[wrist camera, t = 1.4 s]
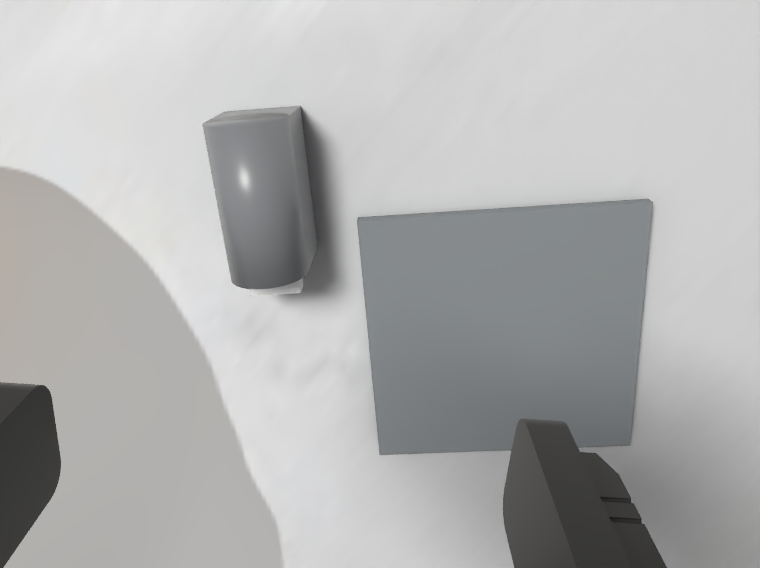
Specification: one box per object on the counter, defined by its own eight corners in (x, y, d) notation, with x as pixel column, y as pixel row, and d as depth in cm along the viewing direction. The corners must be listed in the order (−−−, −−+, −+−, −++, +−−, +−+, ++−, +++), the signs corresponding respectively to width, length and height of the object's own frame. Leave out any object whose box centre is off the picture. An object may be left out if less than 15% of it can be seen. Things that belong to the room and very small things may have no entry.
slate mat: (648, 198, 30) (652, 202, 30) (626, 438, 36) (630, 445, 35) (357, 217, 31) (357, 221, 31) (380, 448, 37) (379, 454, 36)
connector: (300, 106, 29) (280, 123, 25) (320, 269, 33) (306, 311, 28) (224, 111, 30) (191, 130, 25) (251, 273, 33) (226, 316, 28)
